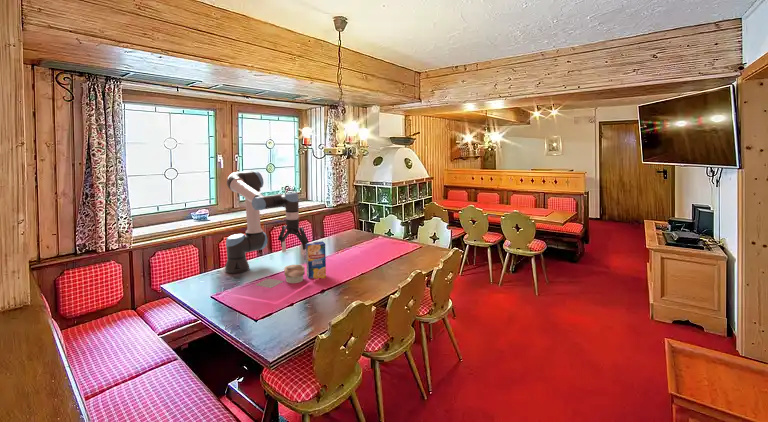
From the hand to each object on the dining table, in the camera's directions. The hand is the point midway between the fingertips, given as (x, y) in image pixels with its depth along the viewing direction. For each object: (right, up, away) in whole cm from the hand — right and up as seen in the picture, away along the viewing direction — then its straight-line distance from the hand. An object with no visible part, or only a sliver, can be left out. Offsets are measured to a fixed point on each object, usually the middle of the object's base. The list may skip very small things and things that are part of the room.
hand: (293, 253), depth 234 cm
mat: (-14, -19, -2) cm, 23 cm away
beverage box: (+12, -17, +11) cm, 23 cm away
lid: (0, -13, +2) cm, 13 cm away
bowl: (0, -18, +3) cm, 18 cm away
